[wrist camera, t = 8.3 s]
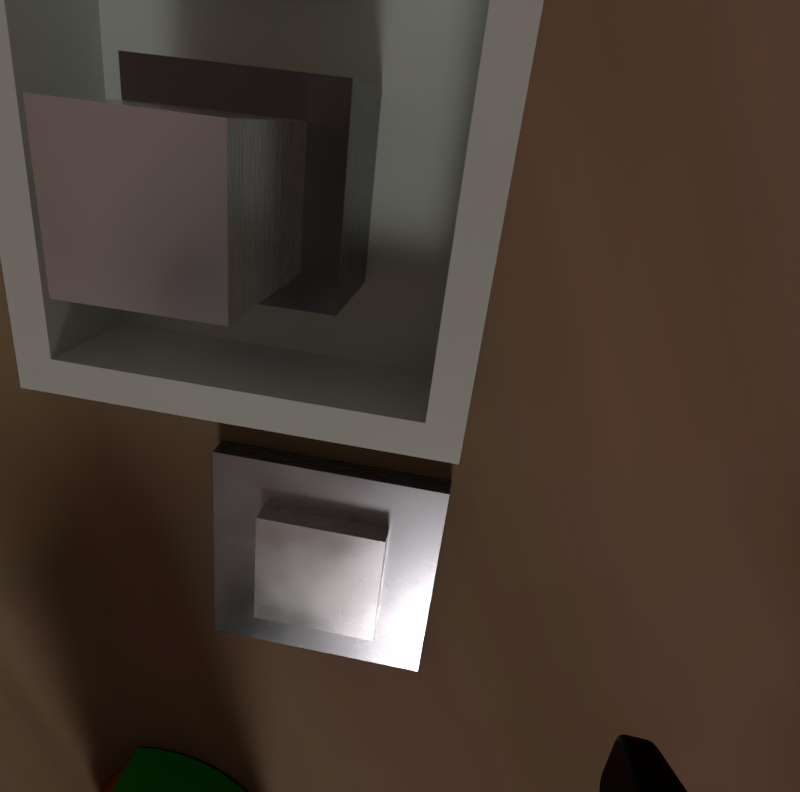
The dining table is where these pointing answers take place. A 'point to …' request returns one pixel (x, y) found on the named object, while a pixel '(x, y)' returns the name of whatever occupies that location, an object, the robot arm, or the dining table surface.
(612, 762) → the robot arm
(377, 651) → the base
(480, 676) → the dining table surface
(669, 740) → the dining table surface
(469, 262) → the bin
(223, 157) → the grey square peg
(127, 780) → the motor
